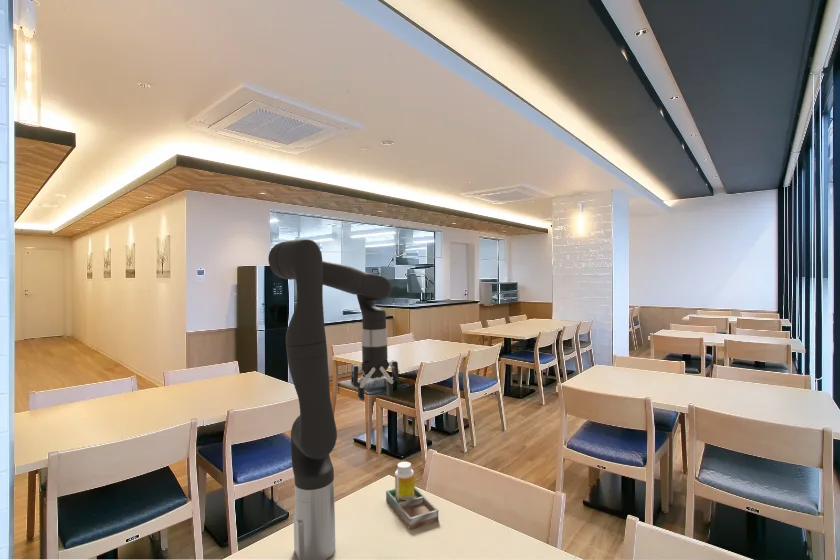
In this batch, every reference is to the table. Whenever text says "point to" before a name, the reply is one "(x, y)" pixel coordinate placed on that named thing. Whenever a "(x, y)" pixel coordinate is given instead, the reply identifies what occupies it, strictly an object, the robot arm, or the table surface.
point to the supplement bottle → (404, 482)
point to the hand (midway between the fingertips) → (375, 397)
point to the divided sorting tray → (413, 509)
